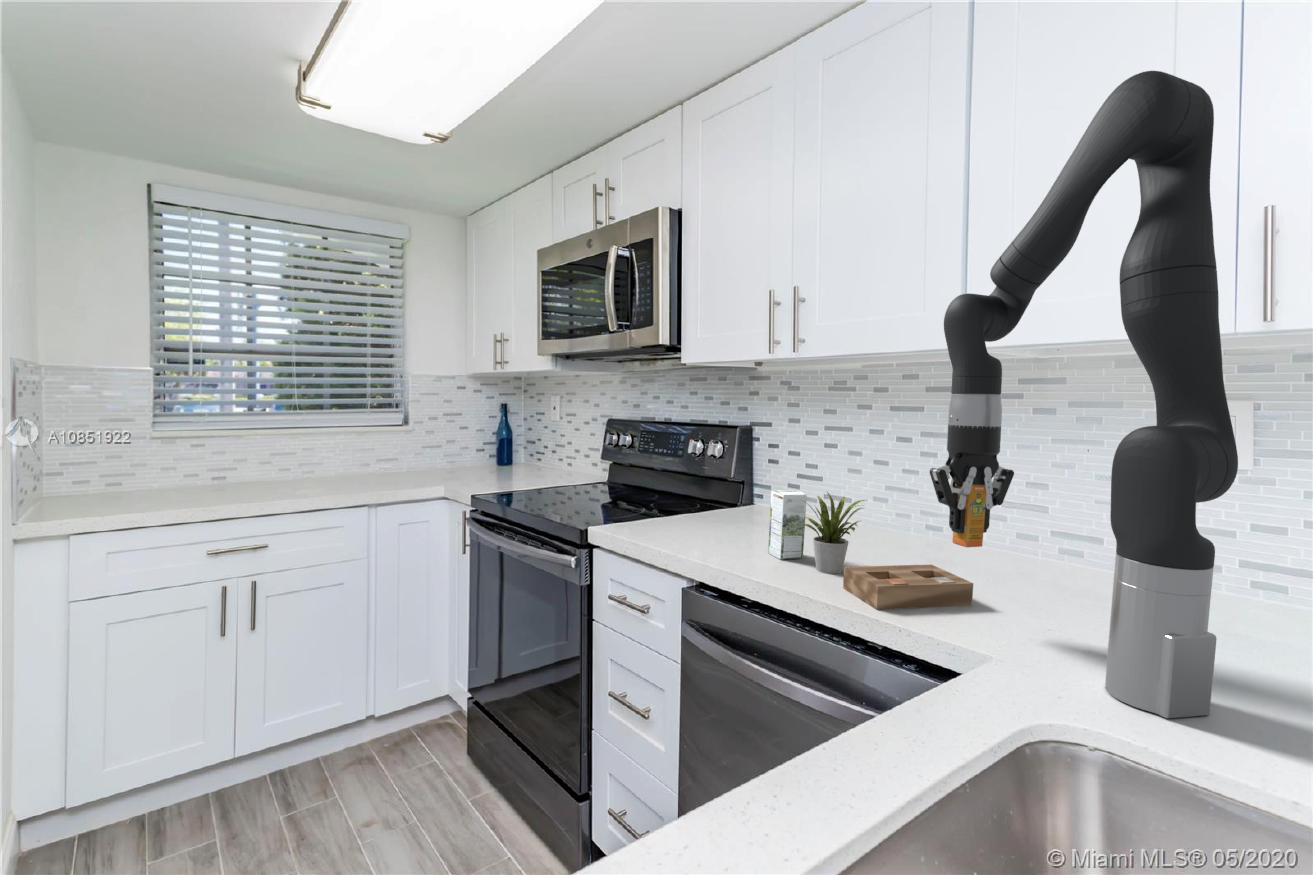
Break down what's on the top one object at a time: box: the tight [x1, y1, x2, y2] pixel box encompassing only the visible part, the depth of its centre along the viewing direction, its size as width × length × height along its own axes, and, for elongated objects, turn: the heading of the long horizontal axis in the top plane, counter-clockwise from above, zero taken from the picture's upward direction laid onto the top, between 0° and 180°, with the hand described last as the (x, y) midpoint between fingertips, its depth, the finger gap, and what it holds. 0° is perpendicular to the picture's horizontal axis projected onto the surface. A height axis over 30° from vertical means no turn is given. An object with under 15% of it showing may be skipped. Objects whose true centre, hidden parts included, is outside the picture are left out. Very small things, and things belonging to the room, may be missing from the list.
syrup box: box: [767, 489, 807, 560], centre depth 142 cm, size 6×6×14 cm
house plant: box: [800, 491, 867, 574], centre depth 131 cm, size 14×14×16 cm
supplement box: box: [951, 484, 987, 548], centre depth 102 cm, size 3×3×10 cm
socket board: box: [842, 564, 974, 611], centre depth 116 cm, size 12×18×4 cm, turn 101°
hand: (968, 531), depth 102 cm, fingers closed on supplement box, 3 cm apart
